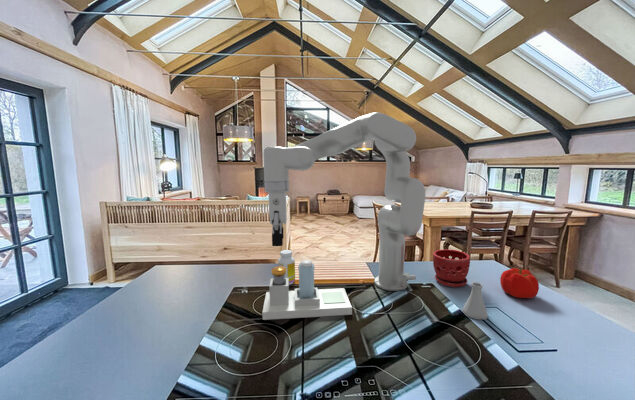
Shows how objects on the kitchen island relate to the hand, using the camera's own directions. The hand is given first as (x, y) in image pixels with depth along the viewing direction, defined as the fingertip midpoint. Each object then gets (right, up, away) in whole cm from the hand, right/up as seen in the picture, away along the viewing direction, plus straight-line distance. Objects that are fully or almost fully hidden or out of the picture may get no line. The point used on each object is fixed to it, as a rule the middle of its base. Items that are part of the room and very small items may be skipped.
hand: (278, 241), depth 86 cm
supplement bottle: (0, -20, +22) cm, 30 cm away
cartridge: (+9, -20, +4) cm, 22 cm away
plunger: (0, -17, +2) cm, 17 cm away
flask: (+63, -23, -1) cm, 67 cm away
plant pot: (+66, -20, +21) cm, 72 cm away
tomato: (+86, -21, +11) cm, 89 cm away
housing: (+9, -22, +4) cm, 24 cm away
